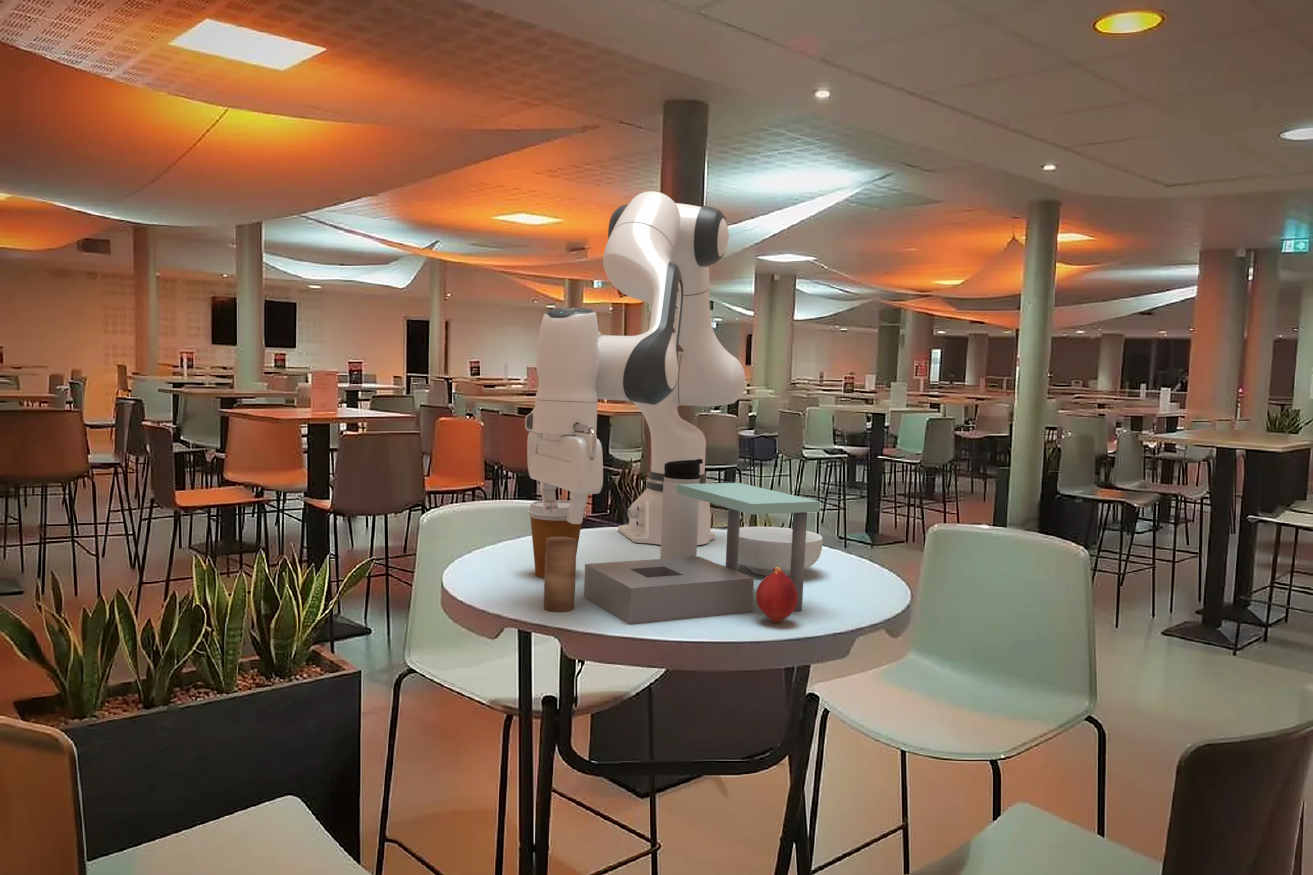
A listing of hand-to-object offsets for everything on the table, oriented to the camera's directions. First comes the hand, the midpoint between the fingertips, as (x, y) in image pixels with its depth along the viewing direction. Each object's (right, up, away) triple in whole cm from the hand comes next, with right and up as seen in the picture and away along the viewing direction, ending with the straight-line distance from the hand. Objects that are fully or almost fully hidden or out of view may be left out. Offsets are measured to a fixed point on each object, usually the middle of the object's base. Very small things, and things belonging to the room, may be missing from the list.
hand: (561, 518), depth 129 cm
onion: (+30, -15, -2) cm, 34 cm away
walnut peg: (-1, -13, +1) cm, 13 cm away
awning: (+27, -13, +12) cm, 32 cm away
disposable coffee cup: (-4, -12, +22) cm, 25 cm away
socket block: (+15, -13, +6) cm, 21 cm away
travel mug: (+17, -12, +27) cm, 35 cm away
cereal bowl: (+34, -13, +32) cm, 48 cm away
